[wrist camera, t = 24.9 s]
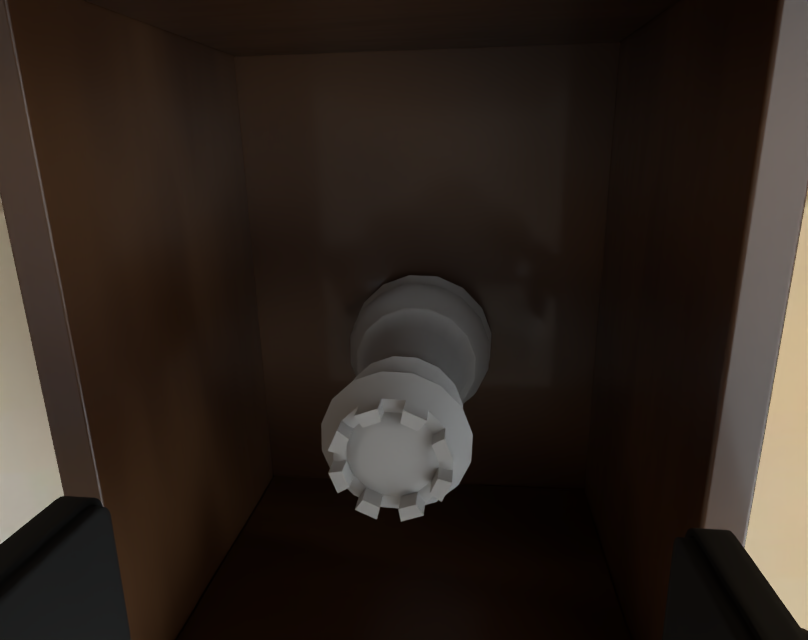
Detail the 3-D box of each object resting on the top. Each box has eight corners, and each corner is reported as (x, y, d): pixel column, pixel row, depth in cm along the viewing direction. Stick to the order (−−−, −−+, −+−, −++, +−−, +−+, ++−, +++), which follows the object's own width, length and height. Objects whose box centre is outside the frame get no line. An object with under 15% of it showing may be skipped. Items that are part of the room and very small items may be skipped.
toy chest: (601, 497, 21) (705, 780, 12) (261, 480, 22) (111, 722, 13) (645, 14, 16) (870, -154, 7) (217, 33, 18) (-62, -89, 9)
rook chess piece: (499, 392, 19) (518, 553, 12) (369, 407, 20) (306, 569, 12) (481, 261, 18) (487, 345, 11) (343, 282, 19) (255, 375, 11)
